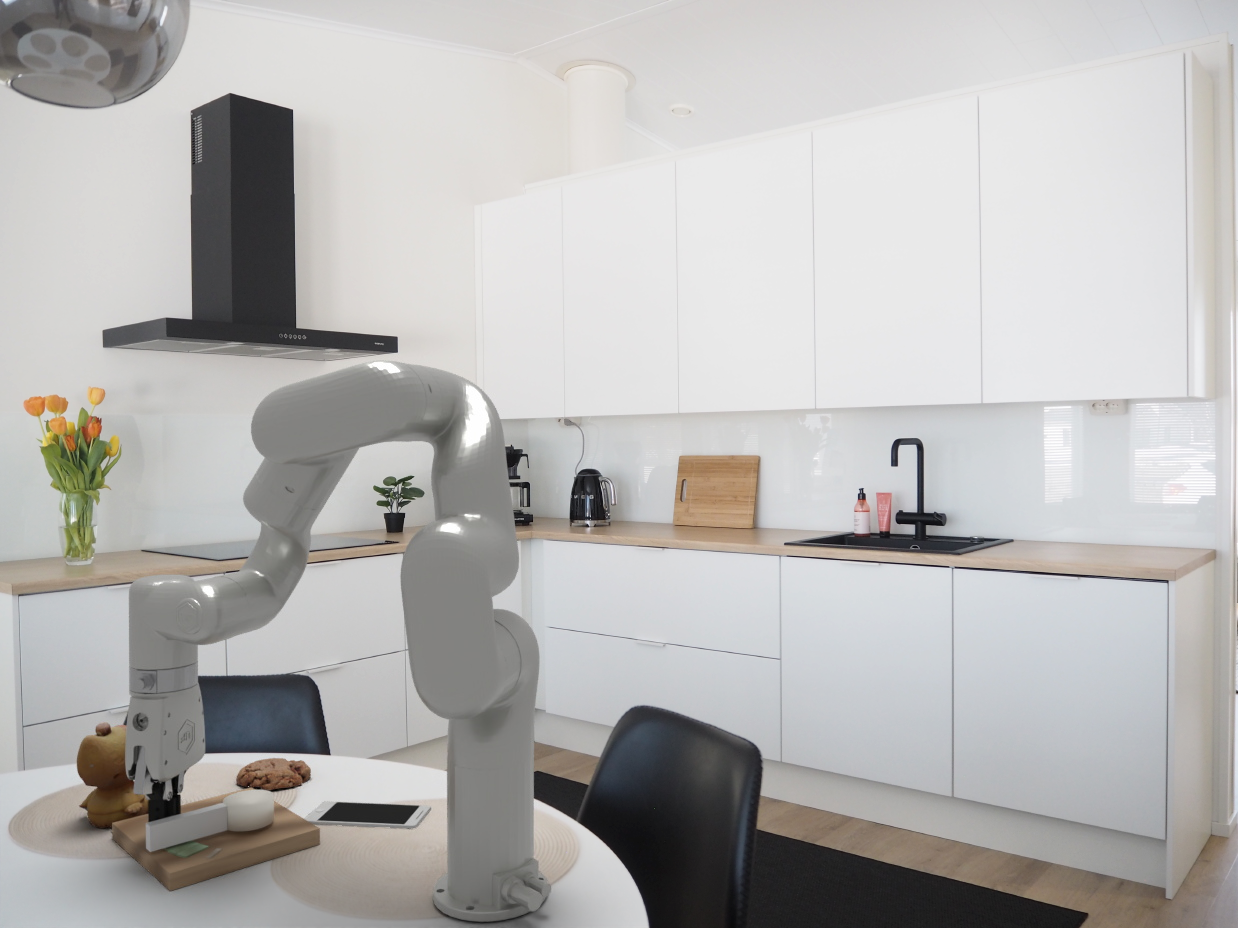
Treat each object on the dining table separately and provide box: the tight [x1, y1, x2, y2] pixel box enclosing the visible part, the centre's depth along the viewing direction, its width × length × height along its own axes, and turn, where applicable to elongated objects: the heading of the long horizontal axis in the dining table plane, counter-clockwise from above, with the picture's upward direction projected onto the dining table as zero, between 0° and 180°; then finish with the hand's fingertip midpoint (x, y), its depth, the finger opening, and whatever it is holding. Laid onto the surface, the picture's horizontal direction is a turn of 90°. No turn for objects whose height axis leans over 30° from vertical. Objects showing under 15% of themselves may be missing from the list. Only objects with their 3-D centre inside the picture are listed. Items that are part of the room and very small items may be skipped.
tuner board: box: [111, 787, 321, 892], centre depth 121 cm, size 20×18×2 cm
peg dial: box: [146, 789, 275, 852], centre depth 118 cm, size 15×6×3 cm, turn 135°
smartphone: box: [303, 800, 432, 830], centre depth 129 cm, size 7×16×1 cm, turn 84°
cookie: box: [235, 757, 312, 791], centre depth 143 cm, size 10×11×3 cm
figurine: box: [76, 721, 148, 829], centre depth 127 cm, size 10×8×15 cm
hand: (164, 828), depth 116 cm, fingers closed
